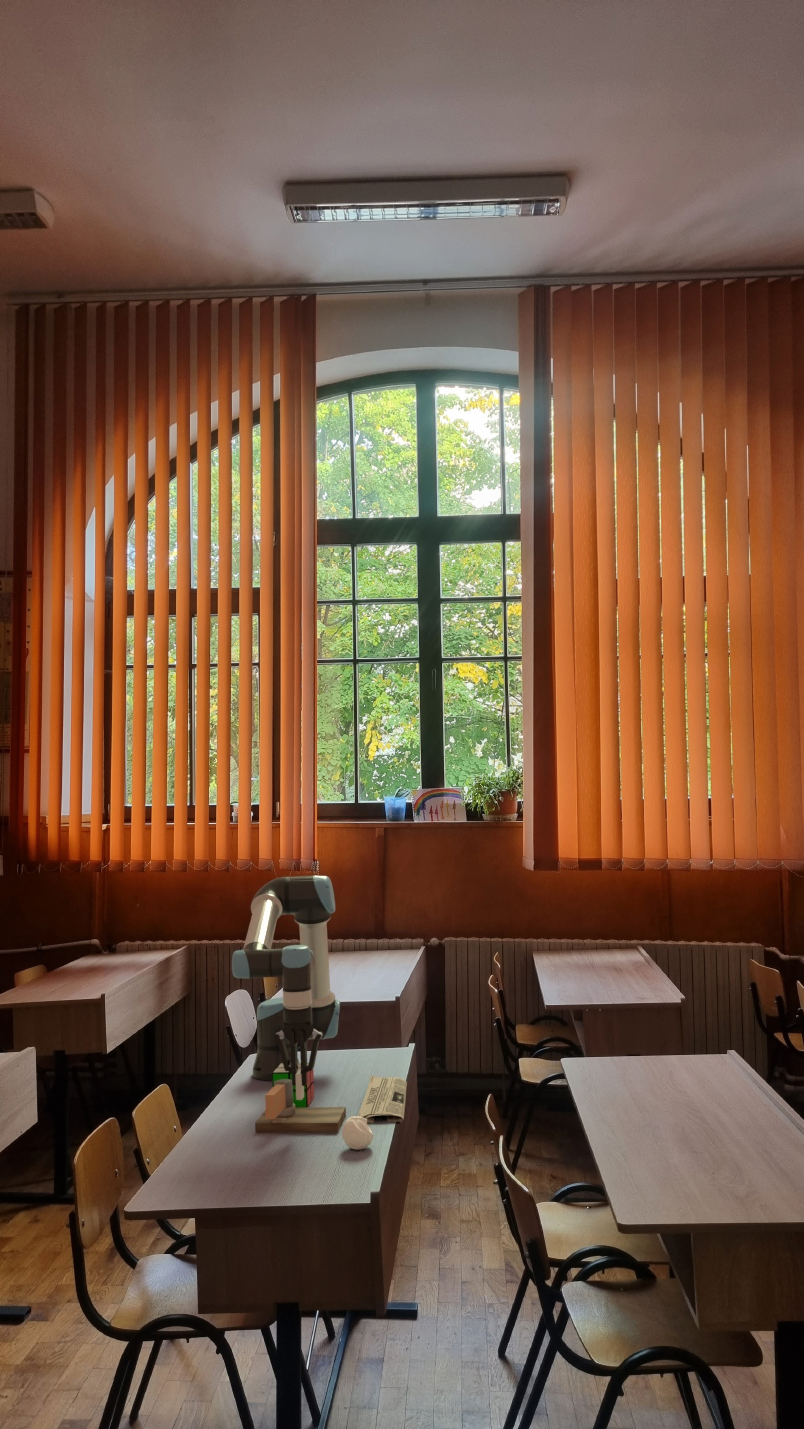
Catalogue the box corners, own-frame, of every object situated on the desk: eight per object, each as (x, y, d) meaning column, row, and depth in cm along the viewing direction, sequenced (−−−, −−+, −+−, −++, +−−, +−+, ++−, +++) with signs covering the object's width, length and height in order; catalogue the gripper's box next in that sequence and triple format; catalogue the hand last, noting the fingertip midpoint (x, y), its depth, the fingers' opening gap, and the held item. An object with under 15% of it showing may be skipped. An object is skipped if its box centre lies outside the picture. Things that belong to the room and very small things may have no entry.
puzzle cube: (314, 1098, 282) (313, 1062, 283) (307, 1108, 272) (306, 1072, 273) (280, 1098, 283) (279, 1063, 284) (272, 1109, 273) (271, 1072, 274)
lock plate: (267, 1116, 266) (266, 1100, 267) (345, 1116, 264) (345, 1099, 265) (255, 1132, 254) (254, 1115, 254) (338, 1132, 251) (337, 1114, 252)
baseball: (375, 1153, 236) (374, 1120, 236) (344, 1156, 234) (343, 1123, 235) (371, 1142, 243) (370, 1110, 244) (341, 1144, 242) (340, 1113, 243)
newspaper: (403, 1123, 258) (403, 1110, 258) (357, 1125, 258) (356, 1111, 258) (407, 1085, 293) (406, 1073, 293) (366, 1086, 293) (365, 1074, 293)
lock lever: (295, 1101, 263) (294, 1079, 264) (279, 1119, 249) (278, 1095, 250) (277, 1101, 264) (277, 1079, 265) (260, 1118, 250) (260, 1095, 251)
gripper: (324, 1002, 257) (327, 1093, 255) (277, 1003, 259) (279, 1093, 257) (318, 1009, 249) (321, 1103, 248) (269, 1009, 251) (272, 1102, 249)
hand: (300, 1098), depth 252 cm, fingers closed
